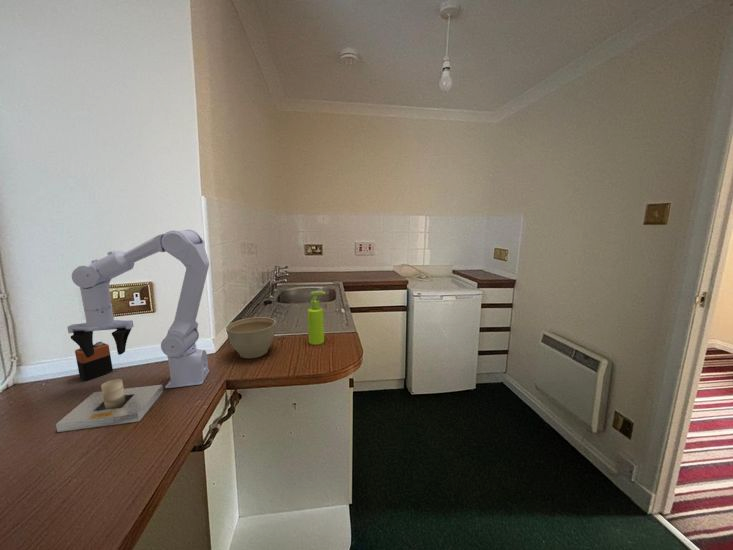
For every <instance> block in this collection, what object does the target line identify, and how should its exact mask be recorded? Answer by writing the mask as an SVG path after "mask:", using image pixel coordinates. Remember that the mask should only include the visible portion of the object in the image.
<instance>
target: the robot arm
mask: <svg viewBox="0 0 733 550" xmlns="http://www.w3.org/2000/svg"><path fill="white" fill-rule="evenodd" d="M165 252H166V253H168V254H169V255H171V256H172V257H173V258H175V259H177V261H180V262H181V263H182V265H183V266H184V267H185V273H184V278H183V281H182V286H181V288H180V289H181V291H180V292H179V293H180V294H179V299H178V303H177V308H176V311H175V316H174V320H173V321H172V324H171V326H170V327H169V328H168V330H167V334H166V336H165V337H164V338H163V339H162V340H161V343H160V349H161V351H162V353H163V354H164V355H165V356H167V360H168V361H167V362H168V368H169V369H168V370H169V375H170V380H169V381H168V383H167V384H166V385H165V387H164V388H165V389H172V388H181V387H189V386H190V387H191V386H196V385H197V386H200V385H203V383H204V381H205V380H206V378H207V377H208V375H209V373H210V370H209V362H208V361H209V360H208V354H207V351H206V349H198V348H197V344H196V342H197V341H198V339H199V338H200V334H199V329H198V327H199V323H198V321H197V316H198V313H199V308H200V305H201V300H202V296H203V292H204V289H205V285H206V284H205V283H206V279H207V276H208V270H209V266H210V260H209V258H208V254H207V252H206V248H205V240H204V239H203V237H201V236H200V234H199V233H198V232H196V231H195V230H192V229H185V230H169V231H167V232H165V233H162V234H158V235H156V236H154V237H152V238H149V240H146V241H144V242H142V243H140V244H139V245H136V246H135V247H133V248H132V249H130V250H128V251H126V252H125V251H122V250H110V251H109V252H107V255H106V256H104V257H102V258H100V259H93V260H91V261H90V262H91V263H90V264H89V265H79V266H77V267H76V268H74V269H73V271H72V273H71V279H72V282H73V283H74V284H75V285H76V286H78V287H79V289H80V290H79V291H80V296H81V300H82V306H83V311H84V316H85V322H83V323H74V324H71V325H68V326H67V328H66V329H67V332H68V334H72V335H70V340H72V341H73V342H74V343H76V344H77V345H78V346H79V349H80V348H81V349H82V350H83V352H84V354H85V356H86V357H87V358H88V357H91V356H92V355H94V347H93V345H94V340H93V338H94V332H98V331H112V330H114V331H112V332H111V336H112V337H113V339H114V342H115V345H116V350H117V351H116V353H117V354H118V355H120V356H121V355H123V354H124V353H126V346H127V342H128V337H129V336H130V333H131V331H132V328H134V327H135V326H134V320H133V319H132V320H130V319H129V320H124V319H123V320H122V319H121V320H120V319H115V318H114V310H113V304H112V299H111V292H110V288H111V284H110V282H111V281H112V279H114V278H117V277H118V276H121V275H123V274H125V273H127V272H129V271H131V270H133V269H134V267H135V263H136V262H138V261H139V262H140V261H141V260H143V259H146V258H148V257H150V256H152V255H154V254H157V253H165Z"/></svg>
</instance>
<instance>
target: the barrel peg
mask: <svg viewBox="0 0 733 550" xmlns="http://www.w3.org/2000/svg"><path fill="white" fill-rule="evenodd" d="M100 388H101V391H102V394H103V400H104V405H105V410H108V409H116V408H122V407H123V406H124V405H125V404H126V400H125V394H124V389H125V388H124V383H123V379H122V378H114V379H110V380H108V381H105V382H104V383H102V384H101V385H100Z"/></svg>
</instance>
